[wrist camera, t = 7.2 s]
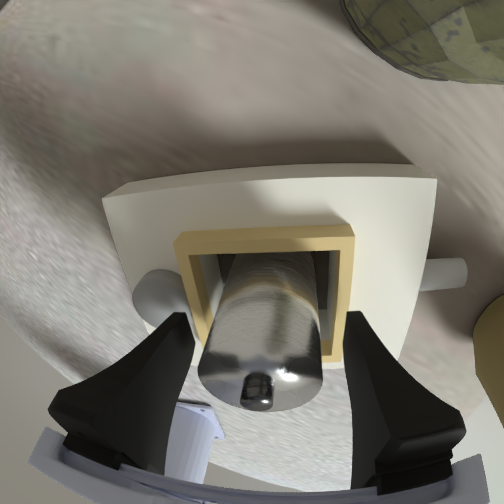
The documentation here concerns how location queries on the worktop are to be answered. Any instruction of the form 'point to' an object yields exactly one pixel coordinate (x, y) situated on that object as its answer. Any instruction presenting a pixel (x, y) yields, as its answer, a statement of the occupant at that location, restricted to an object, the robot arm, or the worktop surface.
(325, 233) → the white holder tray
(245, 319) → the spout can
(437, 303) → the worktop surface
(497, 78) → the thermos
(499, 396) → the squeeze bottle
